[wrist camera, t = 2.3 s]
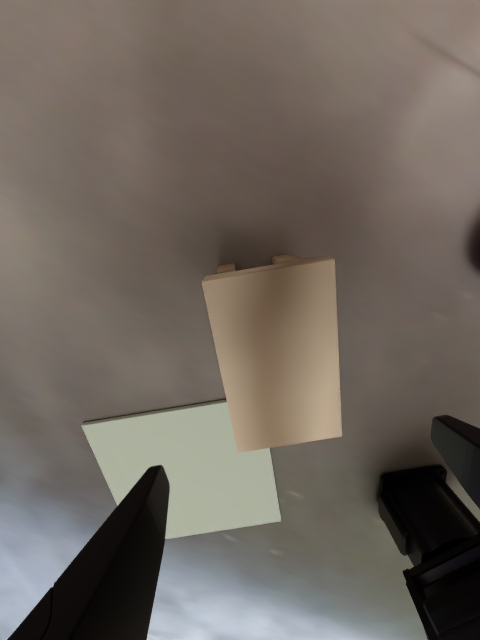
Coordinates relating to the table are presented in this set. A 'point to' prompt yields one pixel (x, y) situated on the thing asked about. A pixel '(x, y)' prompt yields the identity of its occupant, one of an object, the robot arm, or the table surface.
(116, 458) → the mat
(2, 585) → the table surface
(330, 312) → the beige wooden bench
